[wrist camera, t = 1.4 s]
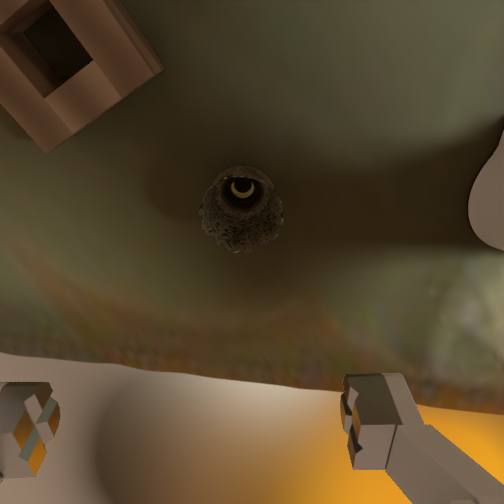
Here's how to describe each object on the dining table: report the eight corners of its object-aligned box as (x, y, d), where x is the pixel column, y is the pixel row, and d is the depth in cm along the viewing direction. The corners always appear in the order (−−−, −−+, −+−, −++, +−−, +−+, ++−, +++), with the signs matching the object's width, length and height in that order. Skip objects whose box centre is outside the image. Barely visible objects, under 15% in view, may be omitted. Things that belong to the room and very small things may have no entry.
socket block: (68, -77, 30) (38, -94, 26) (165, 68, 36) (153, 75, 31) (-35, 18, 34) (-77, 17, 29) (68, 139, 39) (45, 153, 34)
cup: (222, 225, 44) (217, 263, 37) (195, 163, 40) (184, 193, 33) (287, 204, 42) (294, 240, 35) (265, 139, 39) (268, 164, 32)
